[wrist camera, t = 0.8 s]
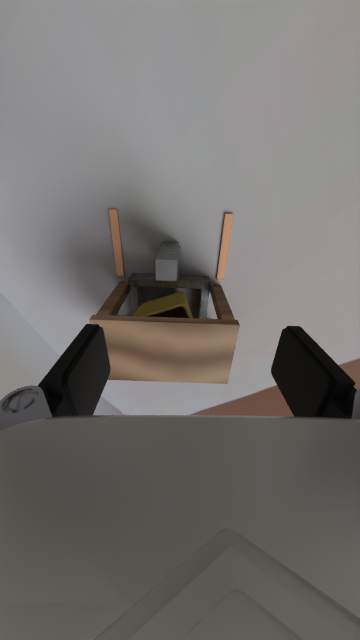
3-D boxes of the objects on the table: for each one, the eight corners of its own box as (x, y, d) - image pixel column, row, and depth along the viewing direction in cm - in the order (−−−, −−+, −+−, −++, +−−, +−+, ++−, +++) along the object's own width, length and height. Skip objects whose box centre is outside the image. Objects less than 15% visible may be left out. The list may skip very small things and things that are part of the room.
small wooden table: (118, 280, 37) (89, 319, 25) (222, 284, 37) (239, 325, 25) (124, 329, 42) (102, 379, 30) (215, 332, 42) (227, 383, 31)
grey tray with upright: (129, 240, 33) (109, 257, 24) (212, 243, 33) (222, 261, 24) (137, 336, 42) (125, 373, 34) (202, 338, 42) (206, 376, 34)
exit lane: (109, 209, 31) (108, 209, 31) (233, 213, 31) (233, 214, 31) (117, 275, 36) (116, 275, 36) (223, 279, 36) (224, 279, 36)
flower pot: (157, 332, 42) (151, 364, 34) (138, 294, 38) (127, 320, 30) (199, 320, 41) (203, 350, 33) (185, 279, 36) (185, 302, 29)
